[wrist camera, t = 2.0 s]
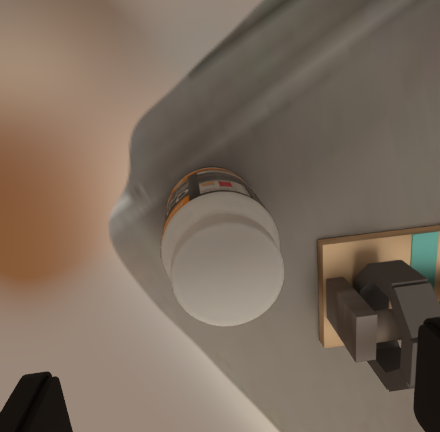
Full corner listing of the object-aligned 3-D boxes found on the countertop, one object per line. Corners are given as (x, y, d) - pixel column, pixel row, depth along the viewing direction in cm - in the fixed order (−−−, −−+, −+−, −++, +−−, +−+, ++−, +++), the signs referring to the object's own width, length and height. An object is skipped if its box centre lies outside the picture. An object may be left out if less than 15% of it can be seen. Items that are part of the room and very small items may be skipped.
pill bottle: (165, 166, 24) (151, 210, 14) (255, 164, 24) (301, 206, 15) (168, 251, 25) (159, 341, 16) (254, 248, 26) (293, 334, 16)
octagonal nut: (354, 250, 25) (415, 304, 18) (383, 246, 25) (455, 299, 18) (353, 341, 27) (408, 419, 20) (380, 337, 27) (443, 414, 21)
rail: (317, 239, 26) (354, 278, 20) (457, 222, 27) (530, 255, 21) (319, 339, 28) (352, 399, 23) (448, 322, 29) (511, 375, 23)
